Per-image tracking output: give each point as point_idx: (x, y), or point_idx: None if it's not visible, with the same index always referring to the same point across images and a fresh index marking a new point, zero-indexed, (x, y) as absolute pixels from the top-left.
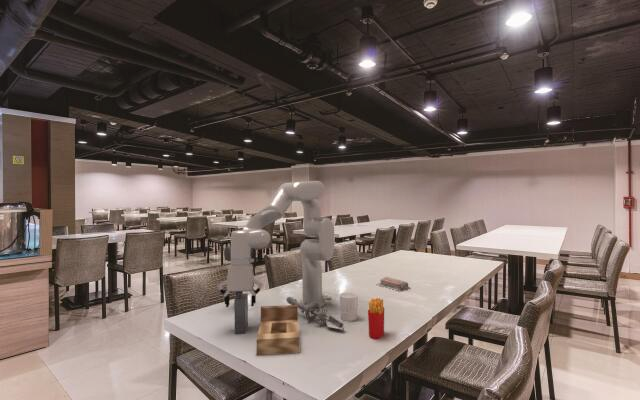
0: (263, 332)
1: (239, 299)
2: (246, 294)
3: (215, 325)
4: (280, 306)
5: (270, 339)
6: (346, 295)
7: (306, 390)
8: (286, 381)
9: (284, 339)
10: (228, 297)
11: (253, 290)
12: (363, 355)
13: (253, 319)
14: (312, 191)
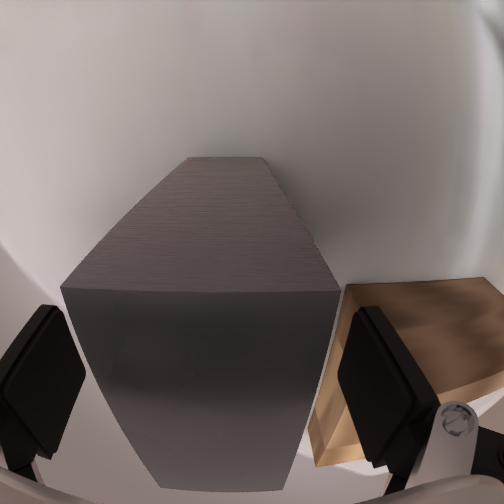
0: (348, 440)
1: (216, 489)
2: (304, 363)
3: (44, 141)
4: (498, 383)
5: (358, 458)
6: None
7: (371, 473)
8: (350, 469)
9: None
10: (45, 431)
11: (444, 473)
12: (498, 392)
13: (292, 45)
14: None
